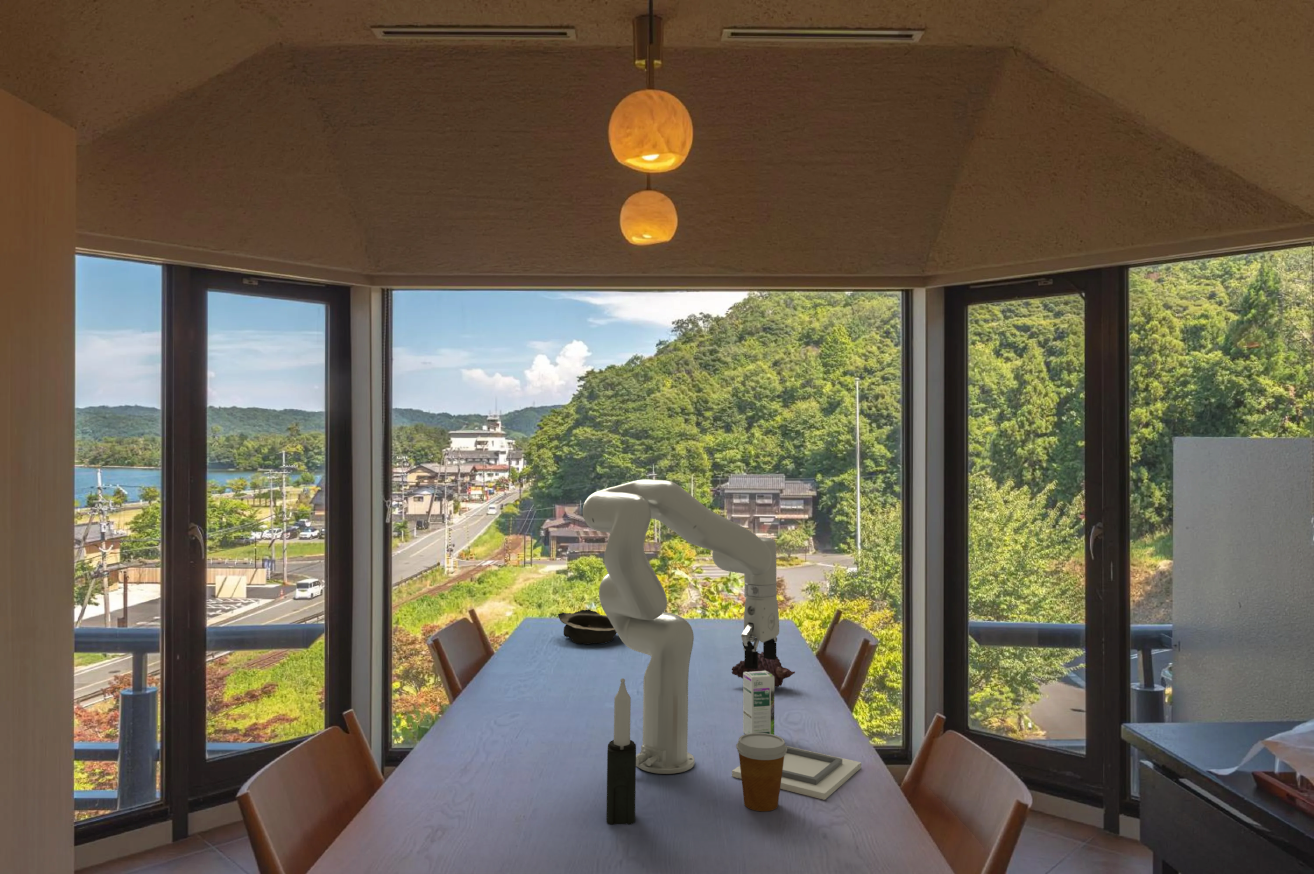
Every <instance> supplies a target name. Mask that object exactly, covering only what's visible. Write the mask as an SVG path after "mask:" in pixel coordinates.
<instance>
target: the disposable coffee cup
mask: <svg viewBox="0 0 1314 874" xmlns="http://www.w3.org/2000/svg"><path fill="white" fill-rule="evenodd" d="M786 746H787V745H786V742H785V740H784V738H783V737H781V736H778V735H776V734H774V735H773V734H767V733H749V734H745V733H744V734H743V735H740V736H739V737H738V742H737V743H736V746H735V747H736V750H737V753H738V757H739V758H738V759H739V766H740V769H741V778H742V779H741V786H742V787H741V788H742V794H743V804H744V807H746V808H748V809H750V810H752V811H755V812H756V811H757V812H770V811H774V810H775V809H777V808H778V807H779V805H778V804H779V799H780V791H781V789H780V786H781V778H782V770H783V763H784V756H785V754H786V752H787V747H786Z"/></svg>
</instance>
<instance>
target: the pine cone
mask: <svg viewBox="0 0 1314 874" xmlns="http://www.w3.org/2000/svg"><path fill="white" fill-rule="evenodd" d="M780 661H781V660H780V659H779V658H778V656H777V655H776V659H775V660H772V659H765V658H764V657H763V651H761V653H759V652H758V668H757V669H751V668H746V667H745V659H744V660H740V661H739V662H738V663H737V664H735V665H734V666H732V668H731V673H732V675H734V676H737V677H738V678H741V679H742V680H743V672H756V671H767V672H769V673H771V674H772V675H773V676H774V689H775V688H776V687H777V688H778V687H782V686H783V682H784V680H785V679H787V678H790V677H791V676H792V675H795V673H796V671H792V670H790V669H789V668H786V667H783V666H782V663H781V662H780Z"/></svg>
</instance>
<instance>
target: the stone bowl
mask: <svg viewBox="0 0 1314 874" xmlns="http://www.w3.org/2000/svg"><path fill="white" fill-rule="evenodd" d="M557 617H558V618H559V621H560V622H561V623H562V624H564V627H563V636H564V637H566V638H570V639H571V640H572V642H573V643H575V644H577V643H579V645H582V643H583V644H585V645H592V644H600V643H605V644H606V643H609V642H612V641H613V640H614V639H615V637H616V635H617V632H616V630H615V629H614V627H613V625H612V624H611V622H610V620H609V619H608V617H607V615H606V614H604V615H602V614H600V613H599V612H597V611H596V610H595V611H594V610H591V609H580V610H579V611H576V612H573V613H571V612H561V613H558V614H557Z"/></svg>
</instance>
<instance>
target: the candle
mask: <svg viewBox="0 0 1314 874" xmlns="http://www.w3.org/2000/svg"><path fill="white" fill-rule="evenodd" d="M625 682H626V679H625V678H621V679H620V685H619V687H618V690H617V693H616V694H615V696H614V700H613V703H614V706H613V707H614V709H613V711H614V715H613V739H612V740H610V741H609V743H608V744H607V753H606V754H607V759H606V761H607V762H606V814H605V815H606V816H605V817H606V819H605V820H606V821H605V822H606V823H607V824H609V825H634V824H635V822H636V781H637V779H636V777H637V775H636V773H637V771H636V770H637V766H636V755H637V744H636V743H635V741H633V740H631V703H632V699H631V695H630V694H629V692H628V690H627V686H626V683H625Z"/></svg>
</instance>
